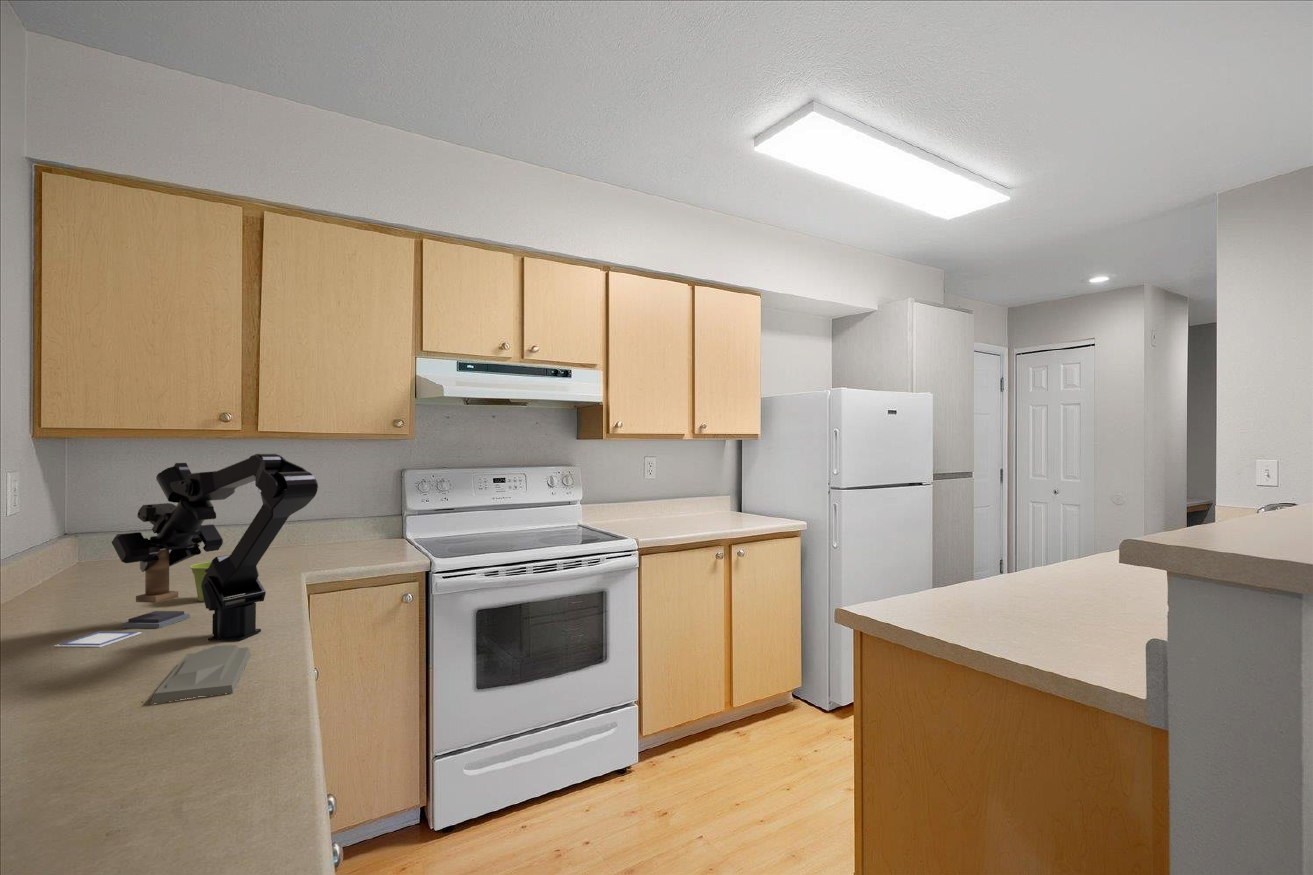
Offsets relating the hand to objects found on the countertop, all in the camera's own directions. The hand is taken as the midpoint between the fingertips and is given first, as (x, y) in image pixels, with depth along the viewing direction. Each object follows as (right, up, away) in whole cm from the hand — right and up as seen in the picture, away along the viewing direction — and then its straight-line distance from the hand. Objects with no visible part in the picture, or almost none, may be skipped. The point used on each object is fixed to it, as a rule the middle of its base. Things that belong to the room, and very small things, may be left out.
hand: (153, 568), depth 133 cm
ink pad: (+1, -11, -1) cm, 12 cm away
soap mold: (+35, -12, -33) cm, 50 cm away
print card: (0, -11, -13) cm, 17 cm away
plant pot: (-2, -12, +20) cm, 24 cm away
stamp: (+1, -7, -1) cm, 7 cm away
